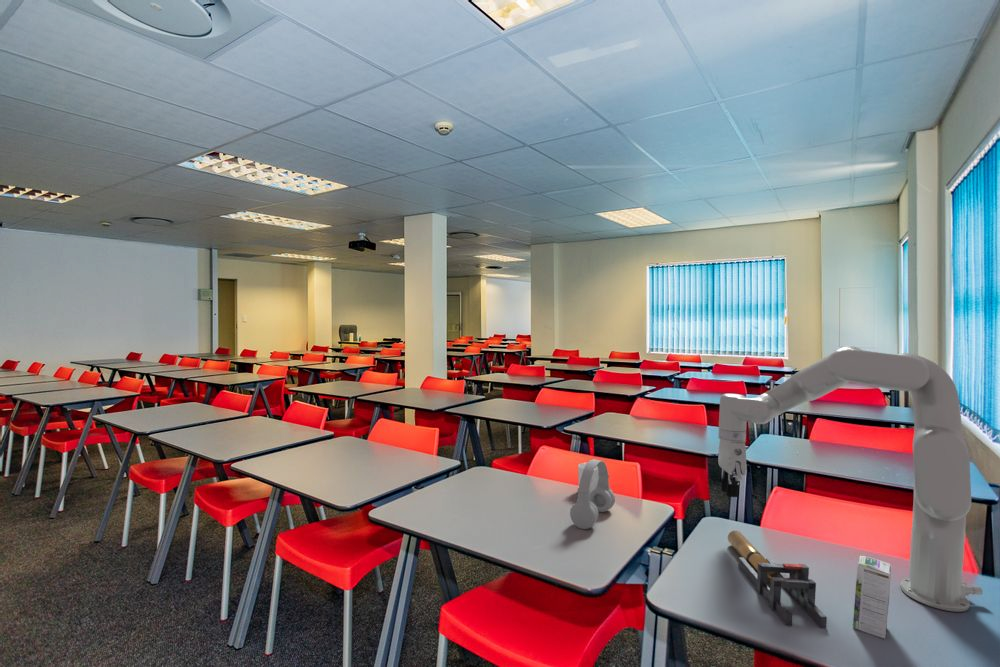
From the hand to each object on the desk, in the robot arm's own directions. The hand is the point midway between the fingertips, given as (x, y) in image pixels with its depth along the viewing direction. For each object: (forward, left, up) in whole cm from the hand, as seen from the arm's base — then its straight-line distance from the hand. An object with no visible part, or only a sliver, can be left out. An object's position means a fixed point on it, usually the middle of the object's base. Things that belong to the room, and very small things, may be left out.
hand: (729, 493), depth 148 cm
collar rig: (0, +30, -13) cm, 33 cm away
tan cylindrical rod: (0, +16, -13) cm, 21 cm away
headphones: (+40, -8, -14) cm, 43 cm away
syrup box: (-14, +42, -13) cm, 46 cm away
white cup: (+39, -31, -13) cm, 52 cm away
